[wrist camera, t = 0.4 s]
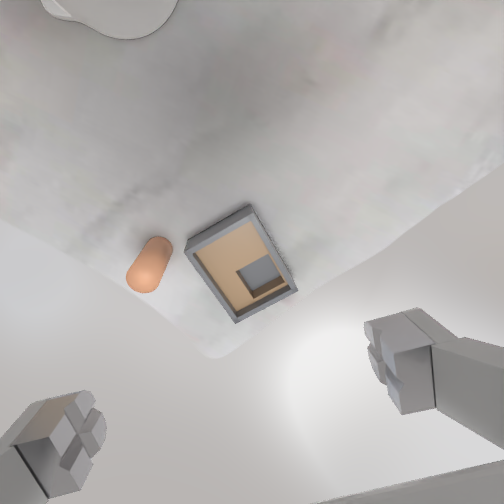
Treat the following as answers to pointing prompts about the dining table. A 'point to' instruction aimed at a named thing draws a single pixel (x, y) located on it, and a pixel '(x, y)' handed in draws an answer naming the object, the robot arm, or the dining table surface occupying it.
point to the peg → (149, 265)
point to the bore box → (240, 264)
